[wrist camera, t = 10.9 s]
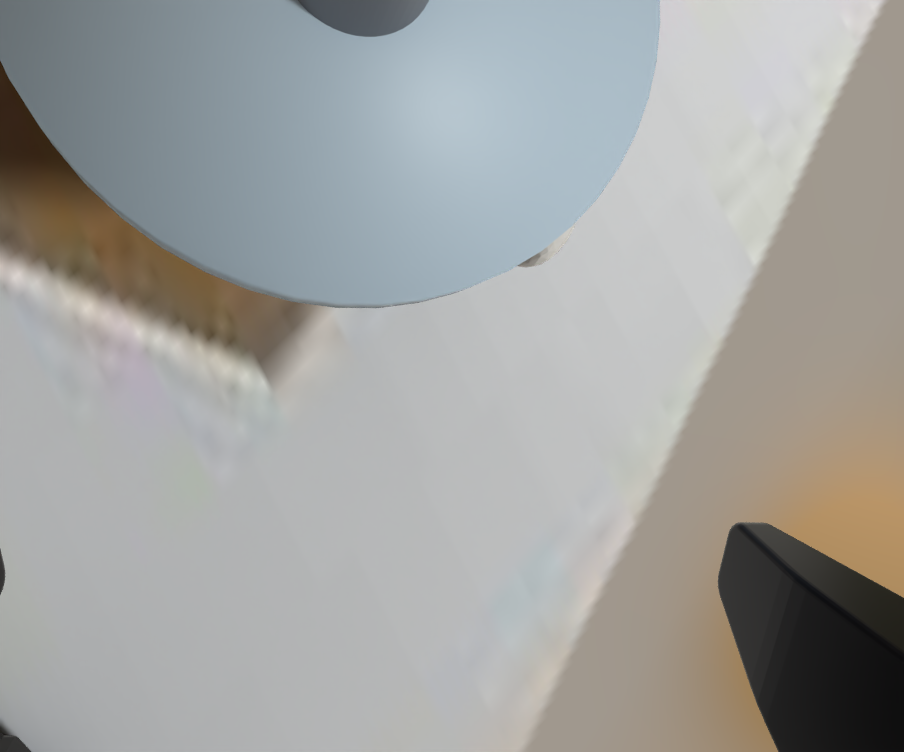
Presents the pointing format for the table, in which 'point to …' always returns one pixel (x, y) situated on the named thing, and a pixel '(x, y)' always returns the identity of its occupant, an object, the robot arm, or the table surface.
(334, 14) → the lid
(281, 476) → the table surface
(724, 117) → the table surface
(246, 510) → the table surface
